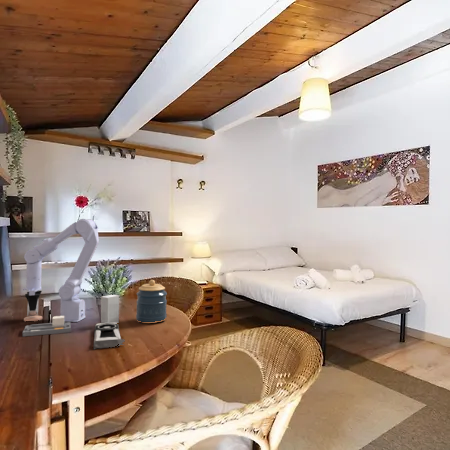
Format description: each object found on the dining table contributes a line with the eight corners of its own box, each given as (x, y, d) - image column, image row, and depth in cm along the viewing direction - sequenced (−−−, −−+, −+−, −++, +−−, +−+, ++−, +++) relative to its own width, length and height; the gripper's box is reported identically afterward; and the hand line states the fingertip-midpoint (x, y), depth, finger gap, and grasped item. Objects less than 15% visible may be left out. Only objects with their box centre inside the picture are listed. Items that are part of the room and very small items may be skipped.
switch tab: (52, 327, 138) (52, 318, 138) (52, 324, 141) (53, 316, 141) (63, 326, 139) (64, 317, 139) (64, 324, 143) (64, 315, 143)
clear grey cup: (39, 314, 156) (40, 295, 156) (34, 316, 152) (34, 297, 152) (31, 313, 157) (31, 295, 157) (25, 315, 153) (25, 296, 153)
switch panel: (22, 336, 131) (22, 330, 131) (25, 329, 140) (25, 324, 140) (70, 332, 138) (70, 326, 138) (70, 326, 146) (70, 320, 146)
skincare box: (111, 322, 152) (112, 294, 152) (118, 324, 150) (119, 295, 150) (100, 325, 147) (100, 296, 147) (107, 327, 145) (107, 297, 145)
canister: (144, 326, 147) (145, 283, 147) (130, 319, 157) (131, 279, 157) (172, 321, 156) (172, 280, 156) (157, 315, 166) (158, 276, 166)
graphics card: (93, 341, 119) (94, 321, 142) (93, 351, 119) (94, 330, 142) (125, 339, 122) (120, 320, 146) (125, 349, 122) (120, 328, 146)
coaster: (45, 317, 158) (45, 315, 158) (36, 322, 151) (36, 320, 151) (30, 317, 158) (30, 315, 158) (20, 321, 151) (20, 319, 151)
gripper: (25, 275, 160) (24, 306, 160) (20, 280, 146) (20, 313, 146) (43, 274, 162) (42, 305, 162) (40, 279, 149) (39, 312, 149)
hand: (33, 309), depth 155 cm, fingers closed on clear grey cup, 4 cm apart
